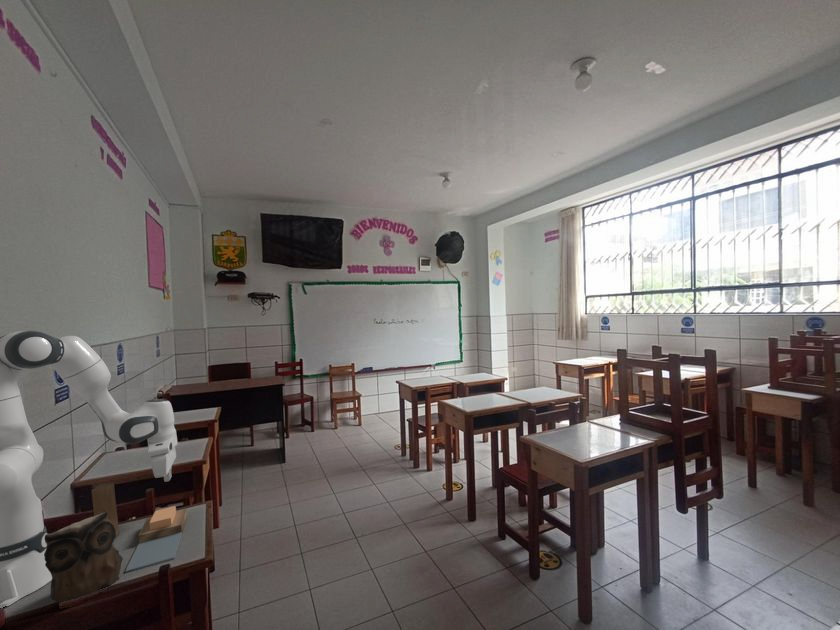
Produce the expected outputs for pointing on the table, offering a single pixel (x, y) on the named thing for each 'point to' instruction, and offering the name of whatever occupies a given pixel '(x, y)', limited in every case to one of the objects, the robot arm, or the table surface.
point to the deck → (164, 531)
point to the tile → (163, 518)
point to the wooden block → (105, 502)
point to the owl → (82, 558)
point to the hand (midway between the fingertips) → (168, 479)
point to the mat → (154, 552)
